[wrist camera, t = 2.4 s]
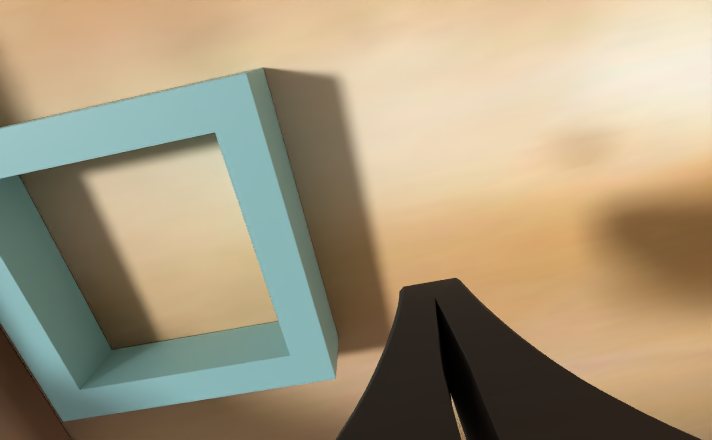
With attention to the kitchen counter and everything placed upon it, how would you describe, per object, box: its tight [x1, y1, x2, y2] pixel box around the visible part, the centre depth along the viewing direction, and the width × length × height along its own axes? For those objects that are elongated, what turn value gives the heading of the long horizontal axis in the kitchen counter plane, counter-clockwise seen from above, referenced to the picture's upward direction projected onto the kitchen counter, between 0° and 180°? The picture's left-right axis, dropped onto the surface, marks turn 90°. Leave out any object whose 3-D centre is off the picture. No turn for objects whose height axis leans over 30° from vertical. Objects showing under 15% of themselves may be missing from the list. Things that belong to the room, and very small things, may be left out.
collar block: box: [0, 68, 339, 422], centre depth 17 cm, size 12×12×2 cm
